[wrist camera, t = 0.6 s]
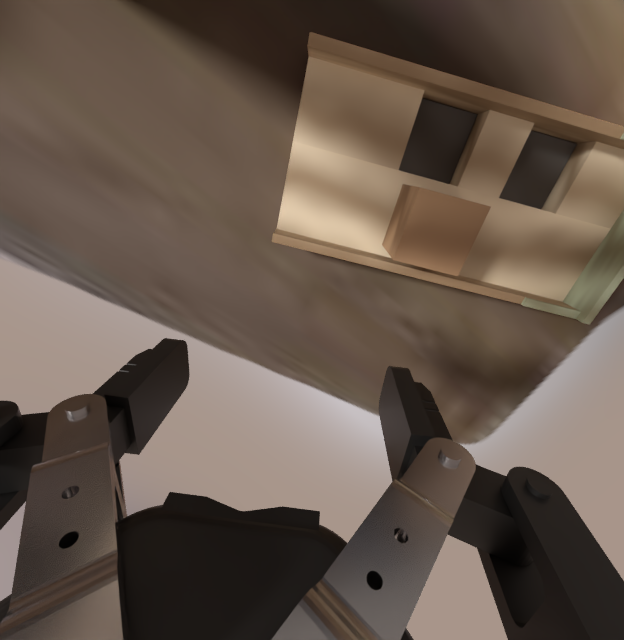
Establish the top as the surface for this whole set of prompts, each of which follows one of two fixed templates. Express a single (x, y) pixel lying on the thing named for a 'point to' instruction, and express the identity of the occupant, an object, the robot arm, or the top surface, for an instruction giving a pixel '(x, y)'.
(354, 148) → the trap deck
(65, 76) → the top surface
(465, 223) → the walnut block
